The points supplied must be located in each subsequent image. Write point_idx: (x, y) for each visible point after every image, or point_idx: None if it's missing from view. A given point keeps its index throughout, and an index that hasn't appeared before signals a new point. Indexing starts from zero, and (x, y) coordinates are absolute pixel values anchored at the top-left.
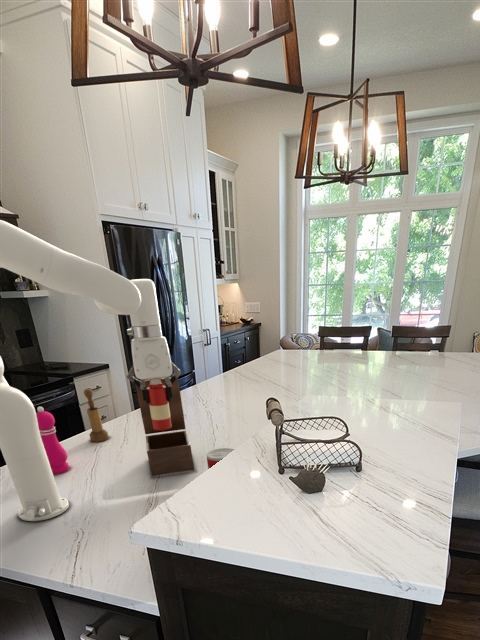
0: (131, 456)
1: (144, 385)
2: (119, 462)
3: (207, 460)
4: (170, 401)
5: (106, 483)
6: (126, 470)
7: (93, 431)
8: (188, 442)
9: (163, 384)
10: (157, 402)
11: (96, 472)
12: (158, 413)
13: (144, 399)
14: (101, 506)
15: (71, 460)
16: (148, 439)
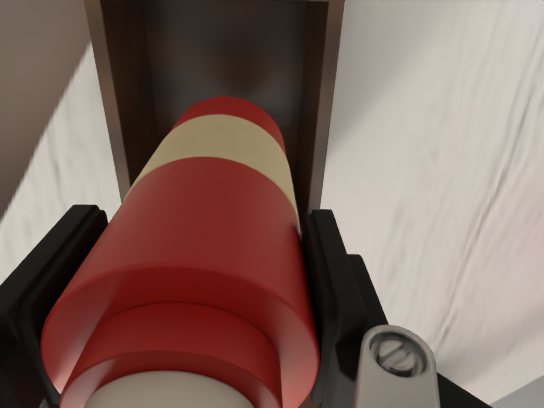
0: (357, 250)
1: (366, 376)
2: (404, 214)
3: None
4: (81, 207)
5: (499, 17)
6: (398, 128)
7: None
8: (96, 33)
9: None
10: (215, 172)
11: (496, 153)
12: (232, 133)
13: (349, 254)
14: None
15: (530, 283)
16: (310, 184)
